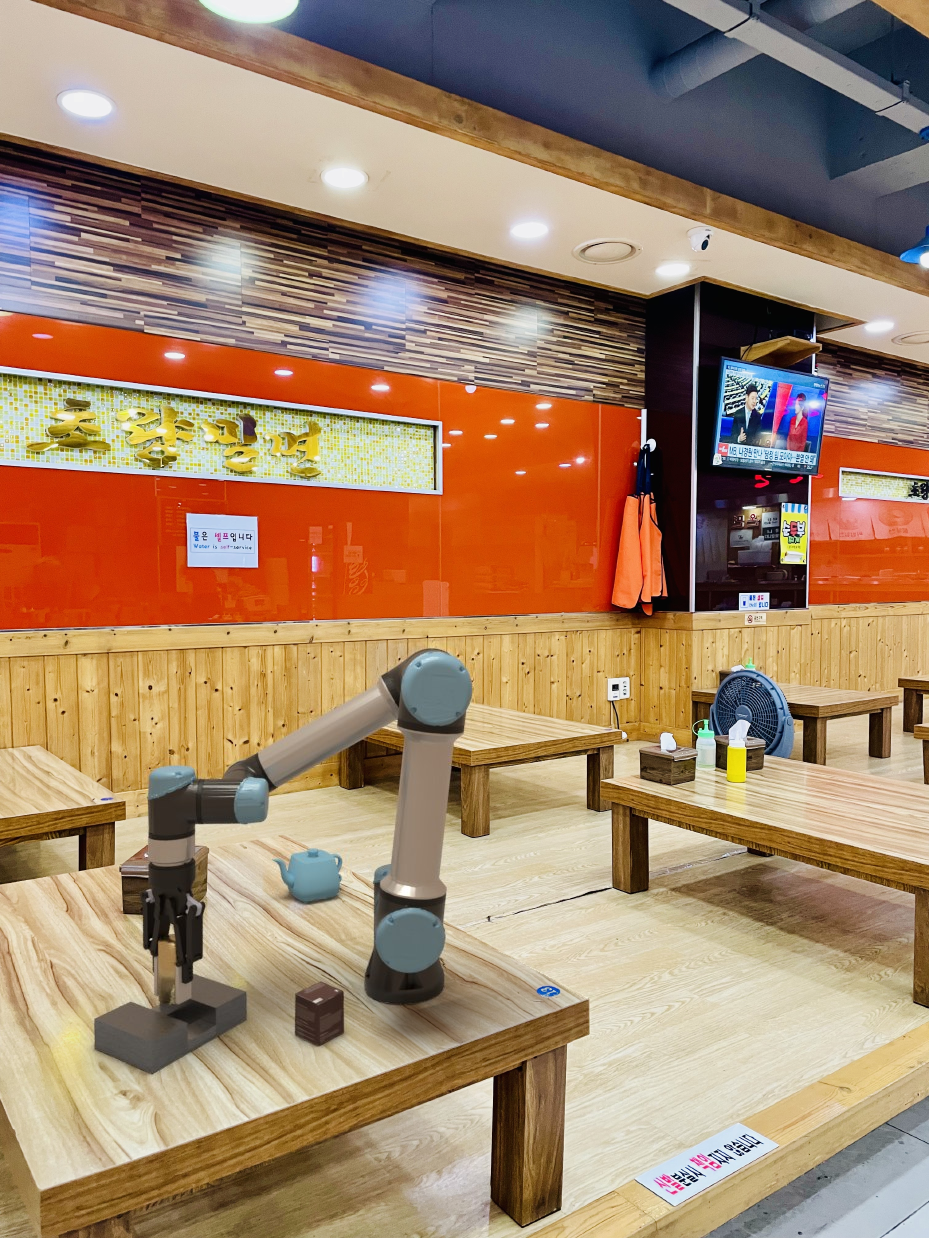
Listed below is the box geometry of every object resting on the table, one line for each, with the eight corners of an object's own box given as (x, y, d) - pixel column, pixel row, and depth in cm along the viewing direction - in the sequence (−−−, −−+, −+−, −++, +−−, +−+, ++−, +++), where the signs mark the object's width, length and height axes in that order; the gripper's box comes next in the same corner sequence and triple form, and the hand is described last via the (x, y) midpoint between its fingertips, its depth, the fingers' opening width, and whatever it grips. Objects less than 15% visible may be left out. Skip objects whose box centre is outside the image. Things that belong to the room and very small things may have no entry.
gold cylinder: (193, 995, 147) (192, 937, 147) (171, 1006, 144) (170, 946, 143) (174, 988, 150) (174, 931, 149) (152, 999, 146) (152, 940, 146)
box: (321, 1021, 151) (321, 980, 151) (345, 1033, 147) (345, 990, 147) (293, 1035, 147) (293, 992, 146) (317, 1047, 143) (317, 1003, 143)
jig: (246, 1019, 152) (246, 991, 152) (151, 1073, 135) (151, 1042, 134) (191, 999, 159) (190, 972, 159) (94, 1048, 142) (94, 1018, 142)
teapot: (263, 895, 213) (263, 849, 213) (332, 883, 223) (332, 838, 222) (280, 911, 203) (280, 863, 202) (351, 897, 212) (352, 851, 212)
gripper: (226, 862, 144) (226, 1000, 145) (155, 845, 154) (155, 975, 154) (190, 874, 138) (191, 1019, 139) (118, 856, 147) (119, 992, 148)
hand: (172, 996), depth 147 cm, fingers closed on gold cylinder, 5 cm apart
